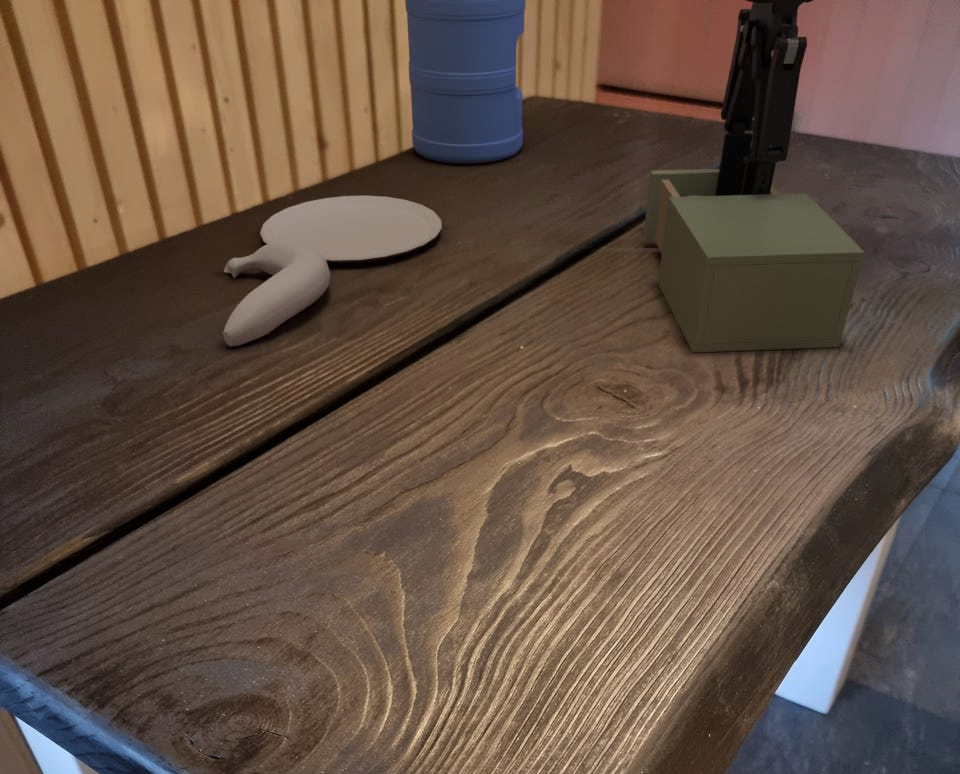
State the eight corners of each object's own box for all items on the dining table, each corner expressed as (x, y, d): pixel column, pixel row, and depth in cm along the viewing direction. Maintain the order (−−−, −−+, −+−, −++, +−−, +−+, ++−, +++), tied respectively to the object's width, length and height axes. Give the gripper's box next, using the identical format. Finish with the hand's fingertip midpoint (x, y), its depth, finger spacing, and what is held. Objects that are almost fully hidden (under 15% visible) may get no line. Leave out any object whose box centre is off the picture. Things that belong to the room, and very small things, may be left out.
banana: (274, 355, 84) (137, 335, 88) (360, 286, 98) (239, 271, 101) (266, 302, 81) (124, 283, 84) (357, 238, 95) (231, 224, 98)
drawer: (636, 222, 106) (642, 158, 102) (742, 219, 107) (753, 155, 102) (670, 287, 93) (680, 216, 88) (792, 283, 93) (807, 212, 89)
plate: (313, 198, 117) (311, 187, 116) (467, 215, 111) (467, 204, 110) (227, 256, 102) (224, 245, 101) (400, 279, 97) (399, 267, 96)
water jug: (463, 173, 123) (458, -93, 104) (390, 149, 132) (373, -101, 113) (545, 150, 131) (554, -102, 112) (471, 128, 140) (468, -109, 121)
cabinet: (657, 285, 95) (668, 197, 90) (787, 280, 96) (806, 193, 90) (692, 352, 84) (707, 256, 78) (839, 347, 84) (865, 251, 79)
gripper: (715, -71, 88) (681, 182, 104) (777, -36, 73) (726, 254, 89) (792, -73, 88) (747, 181, 104) (870, -38, 74) (803, 251, 89)
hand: (737, 214), depth 97 cm, fingers open, 8 cm apart
